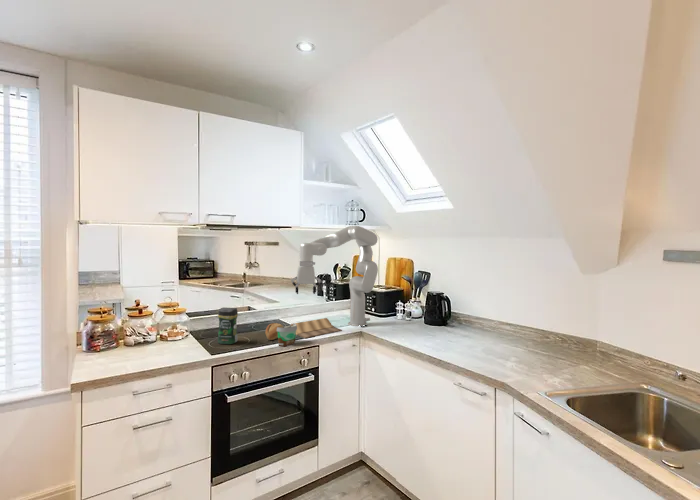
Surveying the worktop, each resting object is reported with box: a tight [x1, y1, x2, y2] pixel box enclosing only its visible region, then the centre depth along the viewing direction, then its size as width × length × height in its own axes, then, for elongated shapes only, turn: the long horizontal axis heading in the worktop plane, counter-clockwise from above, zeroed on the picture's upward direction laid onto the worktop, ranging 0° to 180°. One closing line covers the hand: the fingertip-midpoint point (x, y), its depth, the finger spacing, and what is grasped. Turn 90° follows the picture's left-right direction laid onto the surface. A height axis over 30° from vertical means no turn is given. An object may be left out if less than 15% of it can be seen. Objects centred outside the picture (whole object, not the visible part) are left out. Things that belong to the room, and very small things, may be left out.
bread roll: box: [264, 322, 284, 341], centre depth 199 cm, size 10×15×8 cm, turn 171°
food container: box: [277, 322, 297, 348], centre depth 186 cm, size 12×6×10 cm, turn 143°
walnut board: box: [297, 326, 343, 339], centre depth 208 cm, size 26×8×2 cm, turn 131°
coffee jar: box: [217, 307, 239, 345], centre depth 189 cm, size 10×8×19 cm
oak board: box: [290, 317, 334, 336], centre depth 213 cm, size 26×8×2 cm
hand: (305, 293), depth 208 cm, fingers open, 9 cm apart
